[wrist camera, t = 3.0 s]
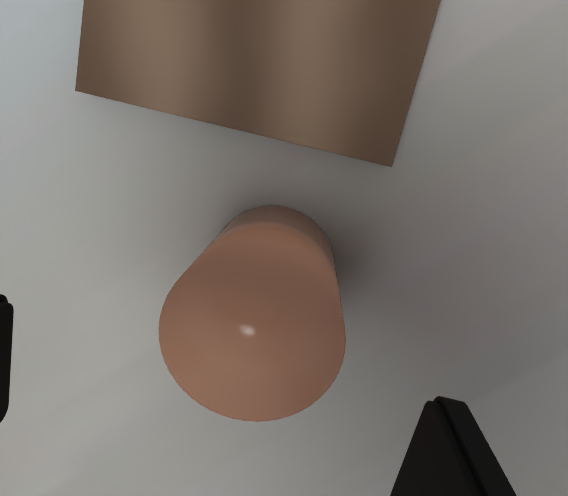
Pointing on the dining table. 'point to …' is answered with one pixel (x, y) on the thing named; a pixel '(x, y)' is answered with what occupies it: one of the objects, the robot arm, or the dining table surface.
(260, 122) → the serving board
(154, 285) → the dining table surface
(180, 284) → the cylinder block
